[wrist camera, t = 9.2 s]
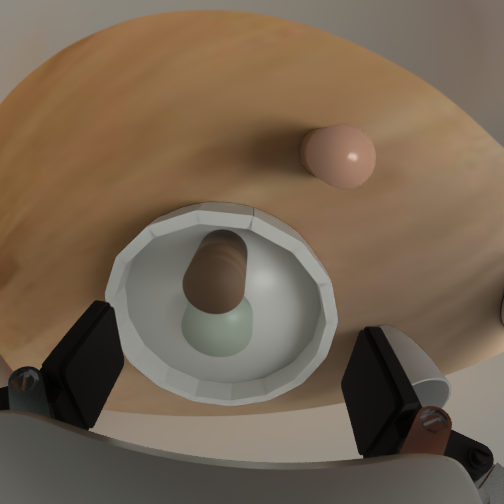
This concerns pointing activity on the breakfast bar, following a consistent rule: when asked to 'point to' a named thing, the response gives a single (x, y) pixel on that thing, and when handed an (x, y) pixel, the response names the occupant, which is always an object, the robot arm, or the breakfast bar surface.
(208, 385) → the groove tray
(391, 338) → the cup
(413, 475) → the robot arm
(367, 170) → the pinkish-brown rounded piece
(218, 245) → the walnut bead
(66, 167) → the breakfast bar surface
